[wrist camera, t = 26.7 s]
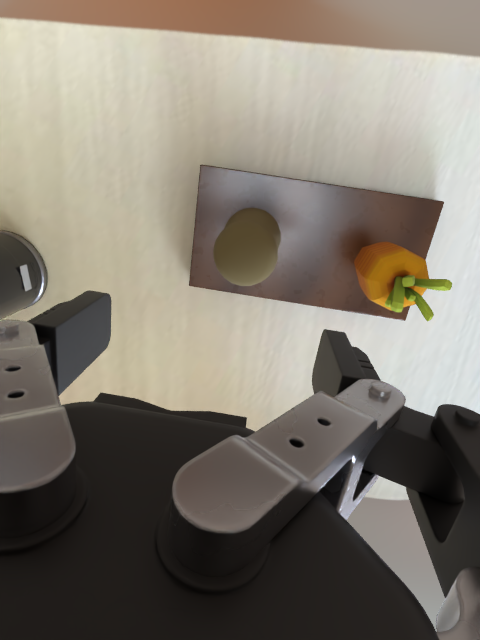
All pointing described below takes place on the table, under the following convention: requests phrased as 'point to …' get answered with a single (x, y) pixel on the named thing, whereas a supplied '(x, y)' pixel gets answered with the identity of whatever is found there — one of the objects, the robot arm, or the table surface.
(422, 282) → the carrot
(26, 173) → the table surface
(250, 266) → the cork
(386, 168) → the table surface
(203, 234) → the cutting board
